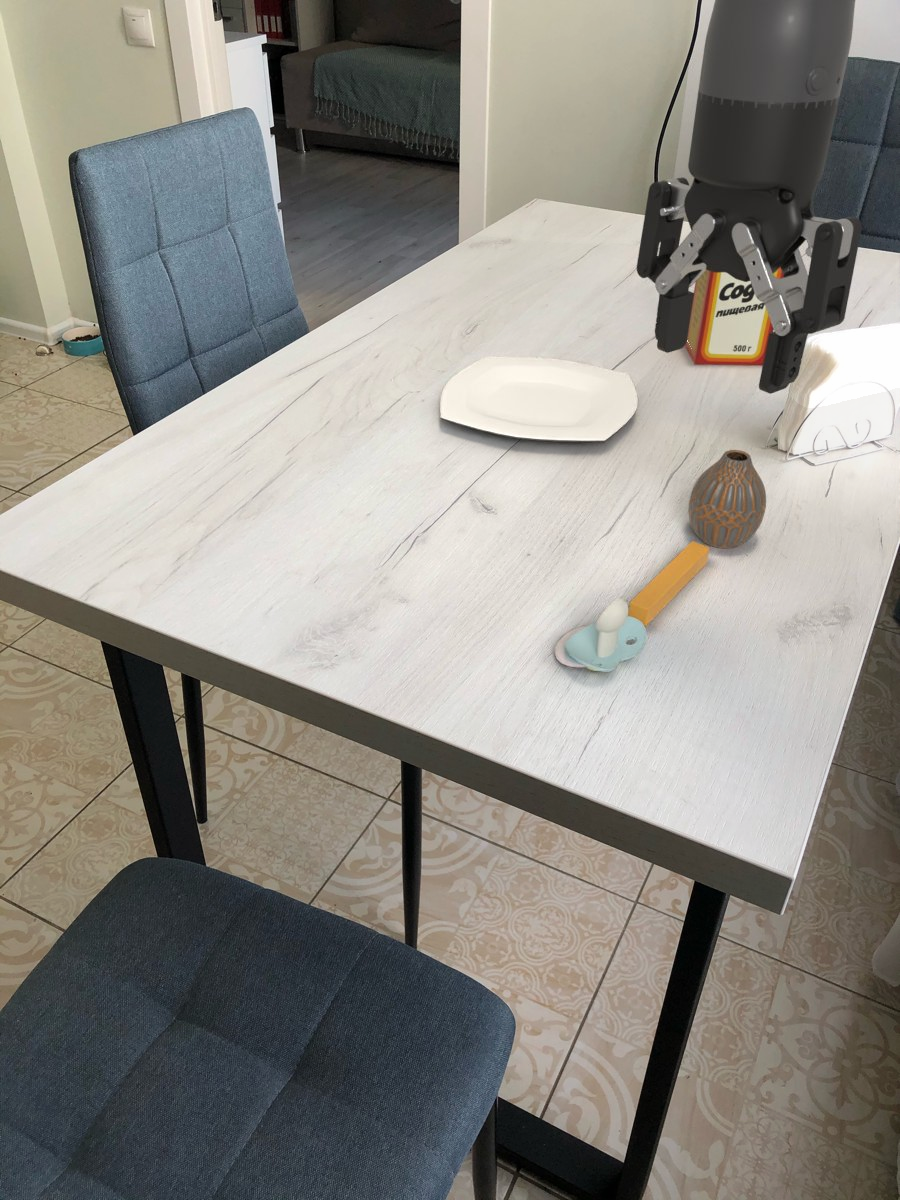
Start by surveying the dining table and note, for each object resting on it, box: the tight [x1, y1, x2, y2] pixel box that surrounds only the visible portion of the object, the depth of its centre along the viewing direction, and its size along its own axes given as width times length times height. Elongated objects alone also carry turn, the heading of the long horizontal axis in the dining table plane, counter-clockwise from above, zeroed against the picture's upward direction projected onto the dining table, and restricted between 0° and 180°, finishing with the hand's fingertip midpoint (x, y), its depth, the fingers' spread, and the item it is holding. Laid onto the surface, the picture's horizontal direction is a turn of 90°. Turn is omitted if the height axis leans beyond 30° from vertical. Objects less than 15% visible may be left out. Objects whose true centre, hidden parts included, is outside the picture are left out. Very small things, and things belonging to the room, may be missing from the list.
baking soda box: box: [684, 267, 783, 366], centre depth 123 cm, size 10×6×16 cm
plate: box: [439, 356, 639, 443], centre depth 112 cm, size 23×23×2 cm
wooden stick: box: [628, 541, 711, 627], centre depth 82 cm, size 12×2×2 cm, turn 143°
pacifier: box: [554, 597, 648, 673], centre depth 74 cm, size 7×6×6 cm
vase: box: [687, 449, 767, 549], centre depth 87 cm, size 7×7×9 cm
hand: (719, 368), depth 61 cm, fingers open, 8 cm apart
